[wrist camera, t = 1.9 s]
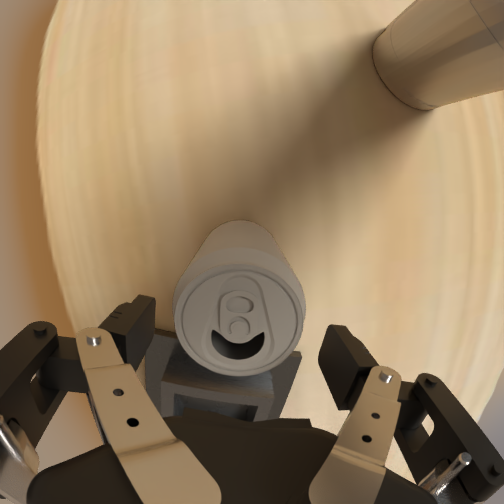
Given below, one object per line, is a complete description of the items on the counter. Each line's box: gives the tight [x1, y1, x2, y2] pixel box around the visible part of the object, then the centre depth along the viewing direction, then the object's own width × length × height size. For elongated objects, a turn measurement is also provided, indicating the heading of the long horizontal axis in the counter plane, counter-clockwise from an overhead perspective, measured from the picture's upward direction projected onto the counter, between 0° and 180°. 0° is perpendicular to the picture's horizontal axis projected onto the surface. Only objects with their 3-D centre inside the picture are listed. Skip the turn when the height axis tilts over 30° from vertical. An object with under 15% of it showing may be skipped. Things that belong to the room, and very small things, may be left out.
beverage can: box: [172, 220, 306, 376], centre depth 17 cm, size 6×6×12 cm
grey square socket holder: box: [145, 328, 302, 422], centre depth 24 cm, size 15×15×4 cm
